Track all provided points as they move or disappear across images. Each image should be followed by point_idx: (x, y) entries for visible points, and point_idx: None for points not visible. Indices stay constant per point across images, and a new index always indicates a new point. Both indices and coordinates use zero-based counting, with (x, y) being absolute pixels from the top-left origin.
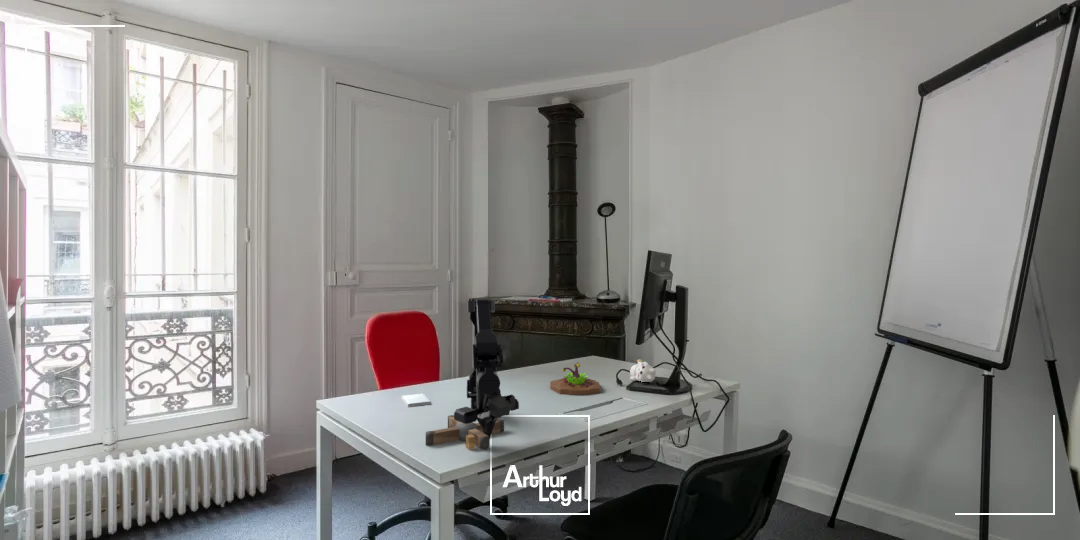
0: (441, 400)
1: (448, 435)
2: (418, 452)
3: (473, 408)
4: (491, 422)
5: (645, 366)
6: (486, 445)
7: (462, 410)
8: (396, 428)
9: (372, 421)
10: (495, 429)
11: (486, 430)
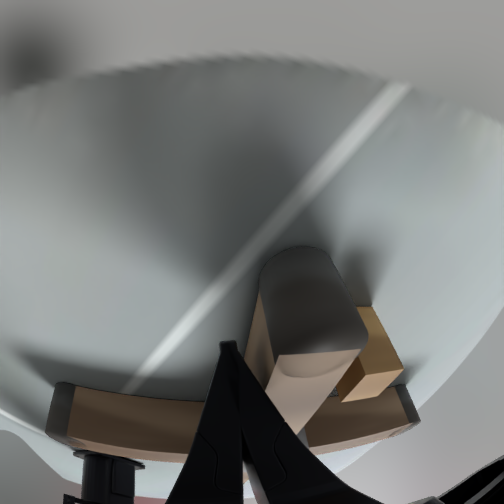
0: (159, 487)
1: (352, 420)
2: (461, 351)
3: (130, 483)
4: (242, 496)
5: None
6: (320, 266)
7: None
8: (335, 455)
9: (331, 467)
10: (98, 408)
11: (275, 416)
